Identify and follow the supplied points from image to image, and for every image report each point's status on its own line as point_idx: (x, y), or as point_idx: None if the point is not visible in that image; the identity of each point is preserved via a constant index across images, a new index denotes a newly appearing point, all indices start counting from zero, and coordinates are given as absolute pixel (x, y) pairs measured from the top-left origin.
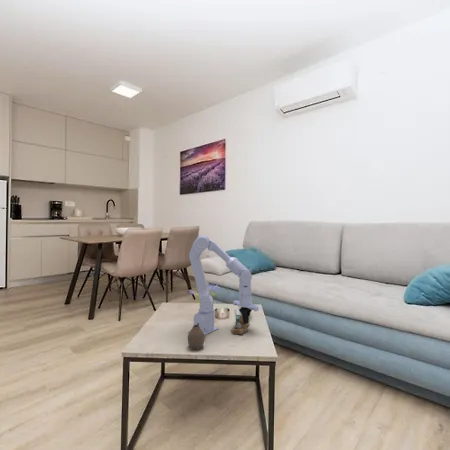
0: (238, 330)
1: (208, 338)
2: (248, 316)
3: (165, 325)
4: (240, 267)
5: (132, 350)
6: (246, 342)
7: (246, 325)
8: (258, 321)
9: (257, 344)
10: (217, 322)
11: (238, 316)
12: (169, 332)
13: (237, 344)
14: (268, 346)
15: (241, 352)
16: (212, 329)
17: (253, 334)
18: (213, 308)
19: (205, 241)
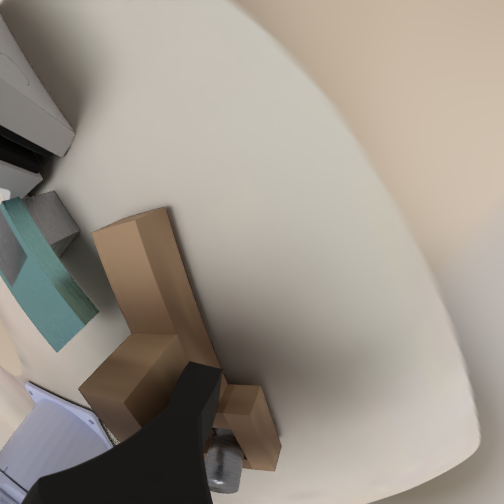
0: (247, 465)
1: None
2: (199, 438)
3: (6, 415)
4: None
5: None
6: (352, 465)
7: (192, 320)
8: (189, 29)
9: (416, 448)
10: (10, 321)
11: (20, 276)
12: None
13: (319, 487)
14: (469, 426)
15: (365, 499)
16: (102, 443)
17: (349, 387)
18: (16, 490)
19: None
